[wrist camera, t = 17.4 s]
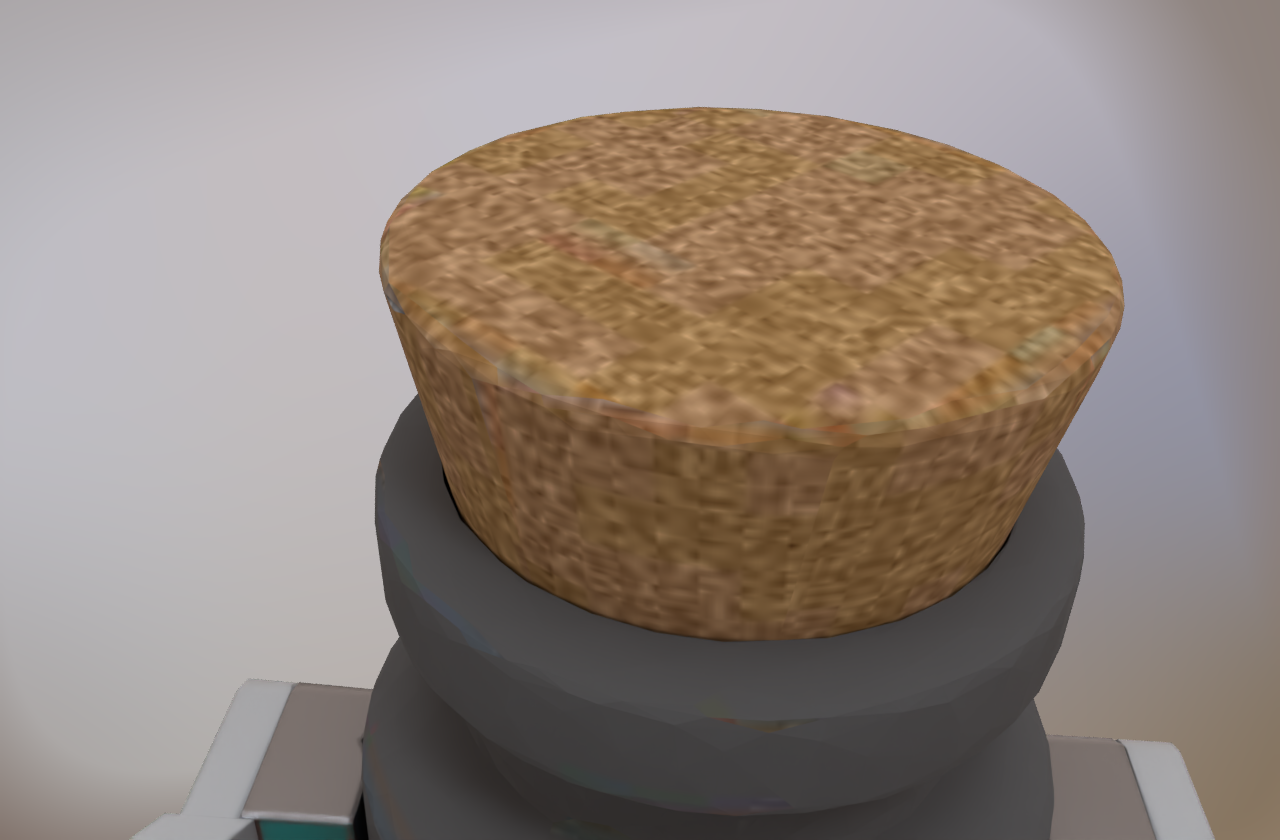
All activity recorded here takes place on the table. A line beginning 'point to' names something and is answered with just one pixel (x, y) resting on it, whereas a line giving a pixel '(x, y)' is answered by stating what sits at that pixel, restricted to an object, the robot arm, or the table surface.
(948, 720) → the bottle
